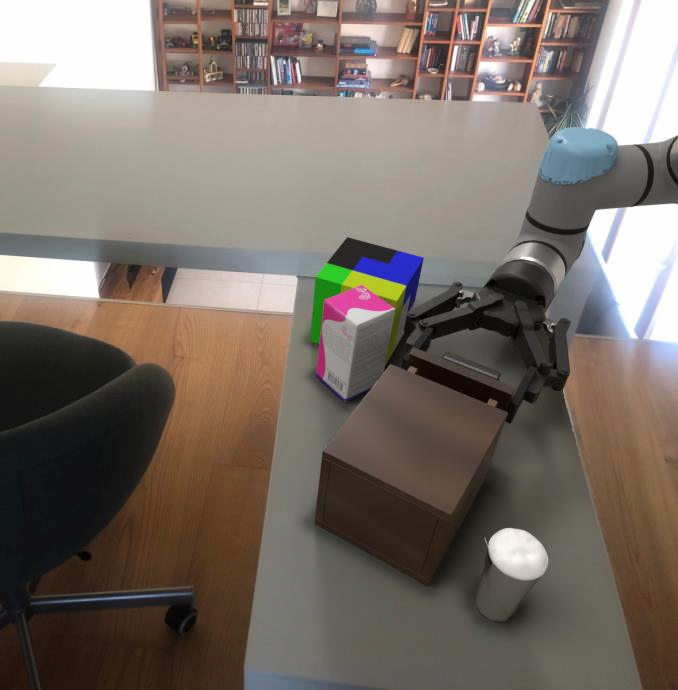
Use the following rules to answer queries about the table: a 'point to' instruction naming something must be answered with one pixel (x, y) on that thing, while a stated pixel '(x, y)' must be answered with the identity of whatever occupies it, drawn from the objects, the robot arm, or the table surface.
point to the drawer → (462, 377)
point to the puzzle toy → (369, 281)
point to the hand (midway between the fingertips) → (455, 390)
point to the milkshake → (509, 572)
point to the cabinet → (406, 470)
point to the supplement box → (354, 342)
